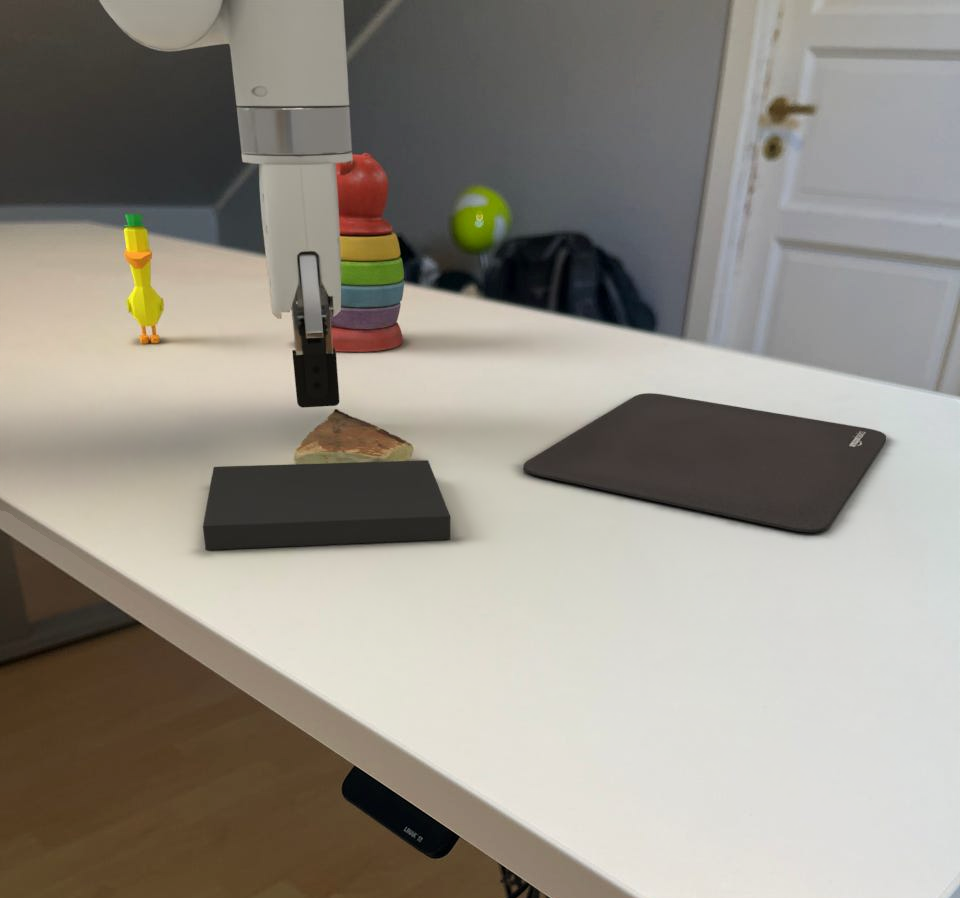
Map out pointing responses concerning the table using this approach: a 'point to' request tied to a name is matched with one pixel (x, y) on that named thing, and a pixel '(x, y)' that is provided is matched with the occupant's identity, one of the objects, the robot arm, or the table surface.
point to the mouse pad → (717, 460)
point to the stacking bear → (366, 261)
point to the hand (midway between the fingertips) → (318, 403)
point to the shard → (350, 443)
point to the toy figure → (141, 278)
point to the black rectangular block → (324, 505)
